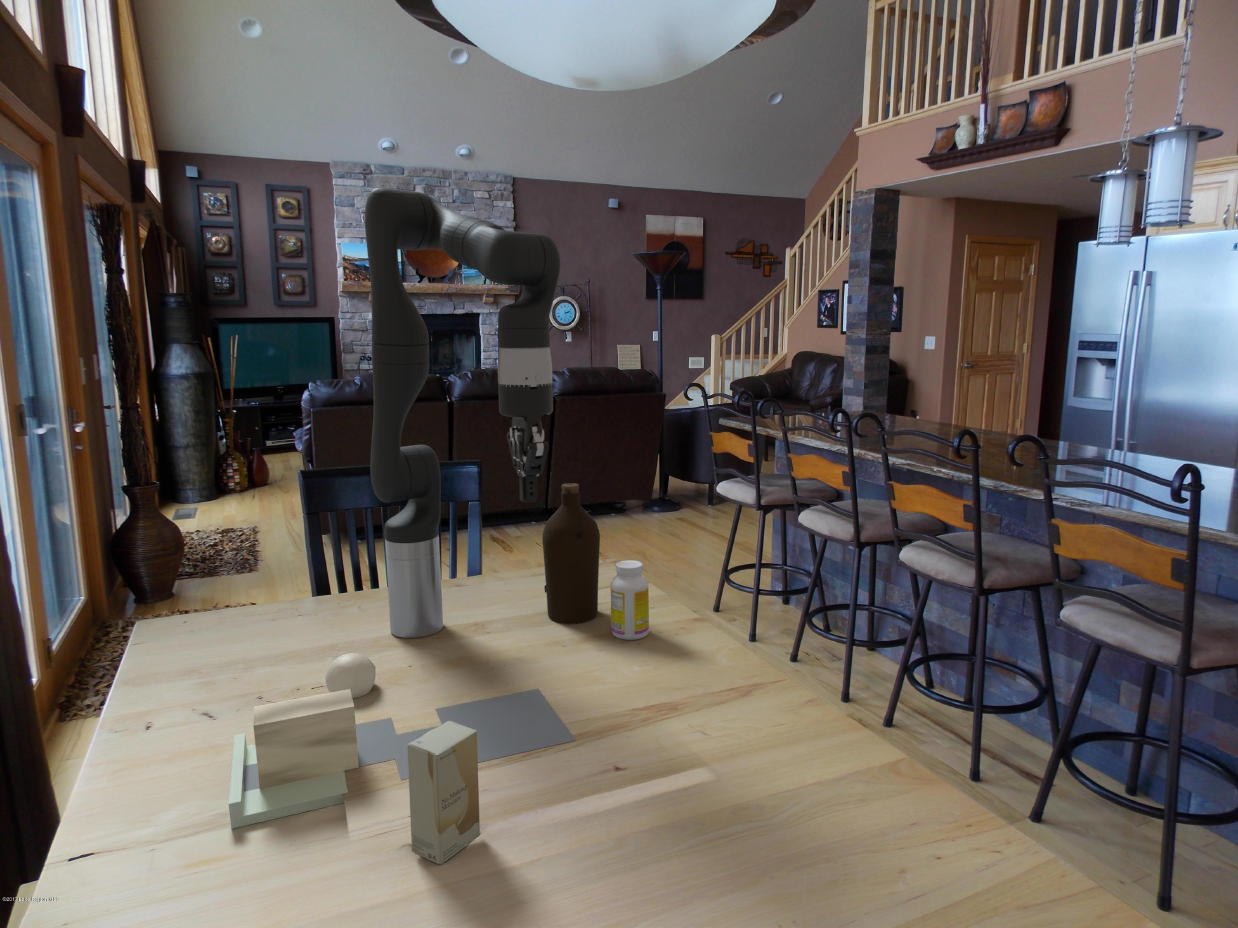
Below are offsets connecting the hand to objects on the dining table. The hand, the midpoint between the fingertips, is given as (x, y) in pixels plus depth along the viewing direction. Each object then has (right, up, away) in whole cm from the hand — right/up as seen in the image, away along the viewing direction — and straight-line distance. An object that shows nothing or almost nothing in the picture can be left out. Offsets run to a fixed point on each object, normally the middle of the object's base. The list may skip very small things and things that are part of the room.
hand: (528, 501), depth 113 cm
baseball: (-26, -29, +4) cm, 39 cm away
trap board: (-14, -32, -12) cm, 36 cm away
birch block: (-25, -32, -17) cm, 44 cm away
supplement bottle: (+15, -25, +26) cm, 39 cm away
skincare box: (-5, -35, -29) cm, 46 cm away
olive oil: (+4, -23, +36) cm, 43 cm away
